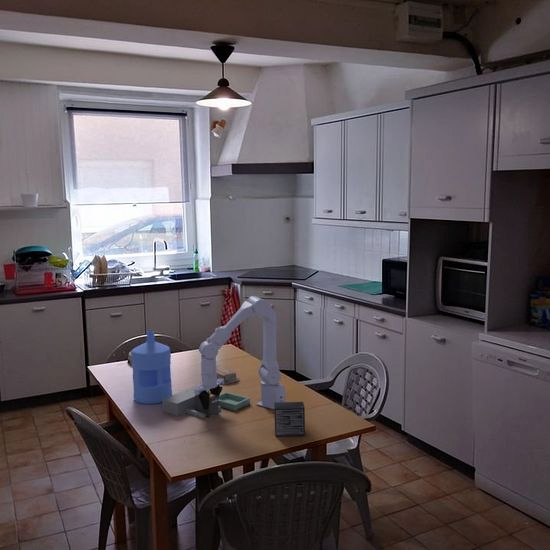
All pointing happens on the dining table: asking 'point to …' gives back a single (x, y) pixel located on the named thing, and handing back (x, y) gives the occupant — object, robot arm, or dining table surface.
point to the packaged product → (226, 375)
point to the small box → (289, 419)
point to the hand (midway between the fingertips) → (209, 407)
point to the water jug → (151, 371)
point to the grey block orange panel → (212, 405)
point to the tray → (233, 401)
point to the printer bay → (183, 403)
